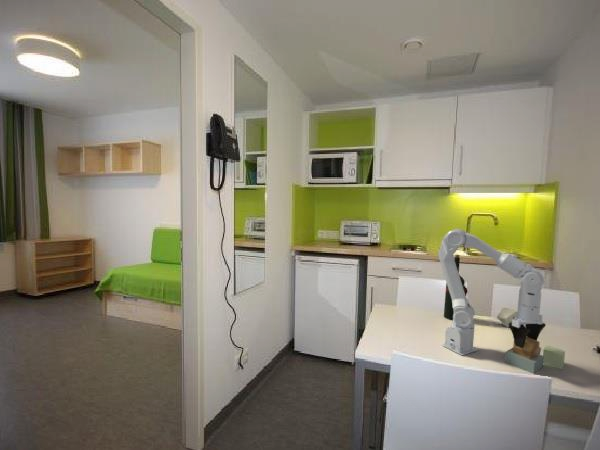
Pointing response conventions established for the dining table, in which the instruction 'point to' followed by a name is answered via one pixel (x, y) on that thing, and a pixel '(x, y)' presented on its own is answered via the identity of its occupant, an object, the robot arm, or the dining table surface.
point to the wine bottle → (448, 300)
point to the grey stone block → (507, 315)
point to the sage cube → (553, 357)
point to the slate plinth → (524, 361)
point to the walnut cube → (527, 349)
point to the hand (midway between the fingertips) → (525, 344)
